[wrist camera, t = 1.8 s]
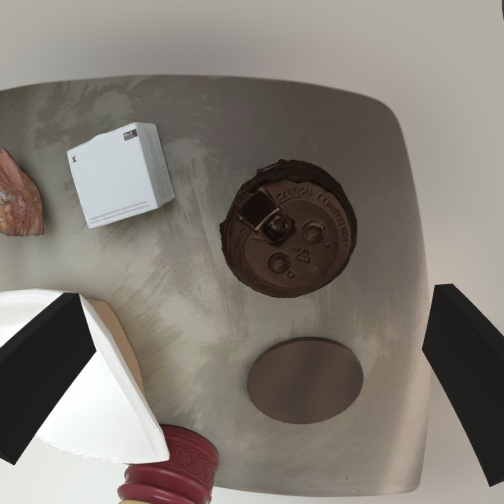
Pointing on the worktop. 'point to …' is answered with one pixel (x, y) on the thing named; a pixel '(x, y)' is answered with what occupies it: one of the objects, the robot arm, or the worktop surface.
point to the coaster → (305, 380)
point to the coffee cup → (289, 230)
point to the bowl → (94, 388)
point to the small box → (120, 174)
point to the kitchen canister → (173, 472)
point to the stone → (18, 200)
